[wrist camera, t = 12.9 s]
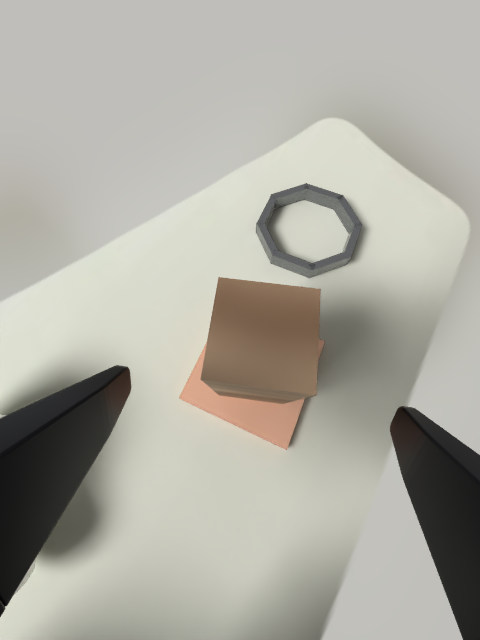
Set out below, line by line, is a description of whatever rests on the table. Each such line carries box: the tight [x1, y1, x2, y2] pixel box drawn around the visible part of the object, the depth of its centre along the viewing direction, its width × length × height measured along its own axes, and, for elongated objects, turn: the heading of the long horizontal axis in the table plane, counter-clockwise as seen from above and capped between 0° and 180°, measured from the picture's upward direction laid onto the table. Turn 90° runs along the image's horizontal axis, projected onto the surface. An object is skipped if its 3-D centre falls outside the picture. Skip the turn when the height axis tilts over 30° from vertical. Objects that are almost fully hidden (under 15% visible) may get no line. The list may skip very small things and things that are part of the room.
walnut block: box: [200, 277, 321, 404], centre depth 15 cm, size 4×4×9 cm
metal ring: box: [256, 183, 362, 278], centre depth 23 cm, size 8×8×1 cm
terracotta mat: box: [179, 339, 325, 450], centre depth 20 cm, size 8×8×1 cm
